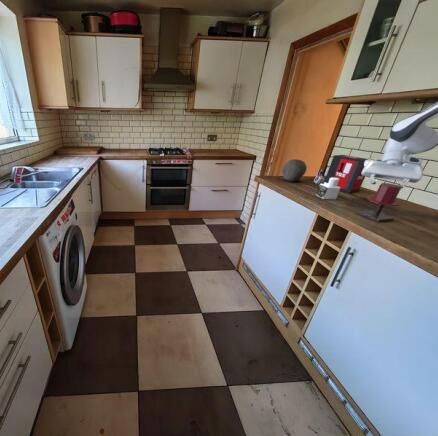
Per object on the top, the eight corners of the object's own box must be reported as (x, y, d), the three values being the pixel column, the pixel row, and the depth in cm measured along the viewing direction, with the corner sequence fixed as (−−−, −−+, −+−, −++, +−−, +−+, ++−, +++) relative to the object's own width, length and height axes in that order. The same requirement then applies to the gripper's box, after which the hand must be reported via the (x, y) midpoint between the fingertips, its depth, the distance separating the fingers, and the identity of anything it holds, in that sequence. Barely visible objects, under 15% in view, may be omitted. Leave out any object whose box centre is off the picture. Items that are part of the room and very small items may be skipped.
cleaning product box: (358, 191, 143) (373, 159, 134) (349, 193, 140) (364, 160, 131) (330, 184, 157) (342, 154, 148) (322, 185, 153) (333, 155, 145)
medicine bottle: (315, 195, 135) (322, 175, 130) (327, 195, 135) (335, 175, 129) (323, 199, 128) (331, 178, 123) (335, 199, 128) (344, 179, 123)
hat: (404, 205, 101) (414, 188, 97) (386, 206, 99) (396, 189, 95) (378, 197, 110) (386, 181, 106) (361, 198, 108) (369, 182, 104)
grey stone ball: (301, 185, 153) (309, 162, 146) (278, 181, 160) (284, 159, 153) (302, 180, 164) (309, 159, 157) (280, 177, 170) (286, 156, 164)
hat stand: (393, 220, 104) (410, 189, 98) (378, 222, 103) (394, 190, 96) (371, 212, 112) (386, 183, 106) (357, 213, 111) (371, 183, 104)
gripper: (367, 154, 112) (360, 177, 110) (427, 160, 101) (421, 186, 98) (363, 162, 117) (356, 184, 115) (419, 168, 106) (413, 193, 104)
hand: (386, 185), depth 107 cm, fingers open, 8 cm apart
